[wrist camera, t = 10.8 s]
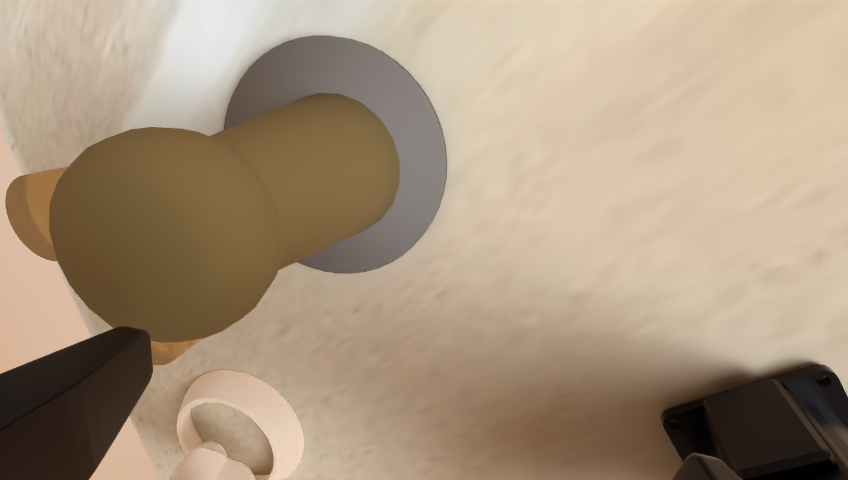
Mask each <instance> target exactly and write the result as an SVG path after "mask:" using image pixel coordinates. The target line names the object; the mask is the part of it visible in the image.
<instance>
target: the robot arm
mask: <svg viewBox="0 0 848 480" xmlns="http://www.w3.org/2000/svg"><path fill="white" fill-rule="evenodd" d="M152 373H153V360H152V348H151V338H150V335H149V333H148V332H147V331H145V330H142V329H137V328H133V327H128V326H120V327H117V328H114V329H111V330H109V331H106V332H104V333H101V334H99V335H96V336H94V337H91V338H89V339H87V340H84V341H81V342H79V343H76V344H74V345H71V346H69V347H66V348H64V349H61V350H59V351H56V352H54V353H51V354H49V355H46V356H44V357H42V358H39V359H36V360H34V361H31V362H29V363H26V364H24V365H21V366H19V367H16V368H14V369H11V370H9V371H6V372H4V373H1V374H0V480H89V478H90V477H91V476H92V474H93V473H94V472H95V470H96V469H97V467H98V466H99V464H100V462H101V461H102V459H103V458H104V456H105V455H106V453H107V451H108V450H109V448H110V446H111V445H112V443H113V441H114V440H115V438H116V436H117V435H118V433H119V432H120V430H121V428H122V427H123V425H124V423H125V422H126V420H127V418H128V417H129V415H130V413H131V412H132V410H133V408H134V407H135V405H136V403H137V402H138V400H139V399H140V397H141V395H142V394H143V392H144V390H145V389H146V387H147V385H148V384H149V382H150V379H151V377H152ZM820 376H826V377H825V378H824V379H823V380H821V381H816V379H817V378H818V377H820ZM674 419H677V420H679V422H677V423H671V422H670V421H672V420H674ZM661 420H662V423H663V426H664V429H665V430H666V432H667V434H668V436H669V438H670V439H671V441H672V443H673V445H674V446H675V448H676V450H677V452H678V453H679V455H680V457H681V459H682V461H683V464H682V465H681V467H680V469H679V470H678V472H677V473H676V475H675V476H674V478H673V479H672V480H848V397H847V395H846V393H845V391H844V389H843V386H842V384H841V382H840V380H839V378H838V377H837V375H836V374H835V373H834V372H833V371H832V370H831V369H830V368H829V367H827V366H825V365H812V366H809V367H806V368H802V369H799V370H796V371H792V372H789V373H786V374H783V375H779V376H776V377H773V378H769V379H766V380H762V381H759V382H756V383H753V384H749V385H746V386H743V387H739V388H736V389H733V390H729V391H726V392H723V393H719V394H716V395H713V396H710V397H706V398H703V399H700V400H697V401H693V402H690V403H687V404H683V405H680V406H677V407H673V408H670V409H667V410H665V411H664V412H663V413H662V415H661Z"/></svg>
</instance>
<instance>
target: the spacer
mask: <svg viewBox="0 0 848 480" xmlns="http://www.w3.org/2000/svg"><path fill="white" fill-rule="evenodd" d="M67 168H68V167H64V168H59V169H54V170H49V171H44V172H39V173H33V174H28V175H24V176H20V177H18V178H16V179H15V180H13V182H12V183H11V184H10V186H9V188H8V190H7V193H6V210H7V215H8V218H9V221H10V223H11V225H12V227H13V229H14V231H15V233H16V234H17V236H18V237H19V238H20V240H21V241H22V242H23V243H24V244H25V245H26V246H27V247H28V248H29V249H30V250H31V251H32V252H34V253H35V254H37V255H38V256H40V257H42V258H45V259H47V260H51V261H57V259H56V255H55V252H54V248H53V244H52V240H51V236H50V232H49V203H50V201H51V198H52V195H53V193H54V190H55V187H56V184H57V182H58V180H59V178H60V177H61V176H62V175H63V173H64V172H65V171H66V169H67Z"/></svg>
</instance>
